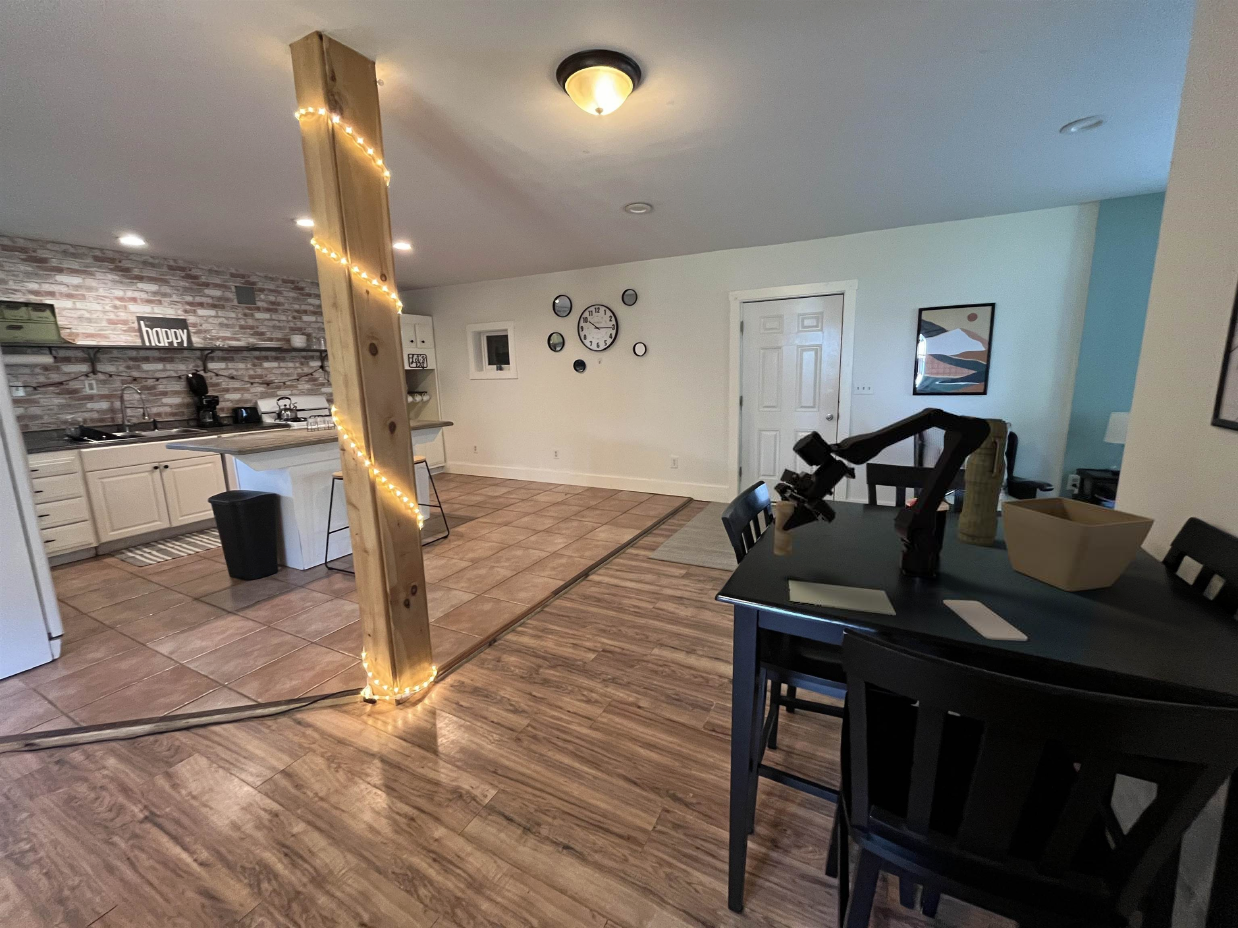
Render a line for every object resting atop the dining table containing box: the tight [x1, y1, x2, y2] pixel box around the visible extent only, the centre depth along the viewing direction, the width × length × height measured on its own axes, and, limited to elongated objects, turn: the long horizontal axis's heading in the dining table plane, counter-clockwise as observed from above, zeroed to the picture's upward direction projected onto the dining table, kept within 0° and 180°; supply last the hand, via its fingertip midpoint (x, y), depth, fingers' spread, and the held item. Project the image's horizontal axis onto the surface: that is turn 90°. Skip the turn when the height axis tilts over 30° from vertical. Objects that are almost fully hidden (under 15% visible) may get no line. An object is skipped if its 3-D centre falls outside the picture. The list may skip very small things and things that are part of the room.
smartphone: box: [943, 599, 1028, 642], centre depth 94 cm, size 7×1×15 cm
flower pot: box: [1000, 496, 1155, 592], centre depth 110 cm, size 19×19×17 cm
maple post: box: [773, 500, 794, 557], centre depth 114 cm, size 4×4×12 cm
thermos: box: [956, 417, 1009, 547], centre depth 134 cm, size 9×12×35 cm
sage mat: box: [788, 580, 897, 616], centre depth 104 cm, size 20×10×1 cm, turn 73°
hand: (778, 527), depth 114 cm, fingers closed on maple post, 4 cm apart
